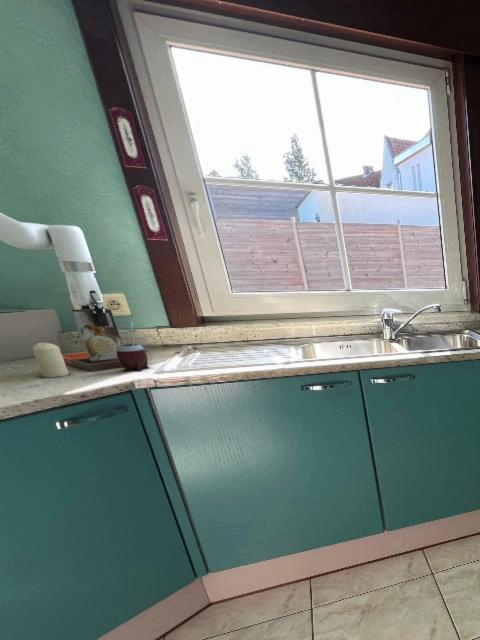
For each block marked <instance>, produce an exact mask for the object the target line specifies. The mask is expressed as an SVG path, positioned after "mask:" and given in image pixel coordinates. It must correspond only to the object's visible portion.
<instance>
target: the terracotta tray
mask: <svg viewBox="0 0 480 640" xmlns="http://www.w3.org/2000/svg"><path fill="white" fill-rule="evenodd" d="M62 357H63V359H64V362H65V365H69V366H75V365H74V363H73V360H77V359H85V358H89V355H88V352H87V351H85V352H84V351H83V352H76V353H75V352H74V353H67V354H62Z"/></svg>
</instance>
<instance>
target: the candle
mask: <svg viewBox="0 0 480 640" xmlns="http://www.w3.org/2000/svg"><path fill="white" fill-rule="evenodd" d="M32 352H33V354H34V356H35V359H36V362H37V364H38V367H39V370H40V372H41V375H42V376H43V377H44V378H58V377H65V376H68V375H69V371H68V367H67V364H66V363H65V362H64V359H63V357H62V355H63V354H62V352H61V348H60V347H59V346H58V345H56V344H53V343H51V342H46V341H44V342H38V343H36V344H35V345H34V346H33V347H32Z"/></svg>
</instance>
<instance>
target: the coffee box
mask: <svg viewBox="0 0 480 640" xmlns="http://www.w3.org/2000/svg"><path fill="white" fill-rule="evenodd" d="M103 309H104V310H105V314H106V317H107V320H108V323H109V326H96V325H95V322H94V319H93V316H92V314H93V312H92V310H91V309H80V308H78V309H71V312H72V314H73V318H74V320H75V323H76V326H77V329H78V330H79V334H80V336H81V339H82V341H83V345H84V347H85V350H86V352H88V355H89V358H90V360H91V361H100V360H110V359H118V357H117V351H116V350H117V347H118V346H119V345H124V342H123V340H122V337H121V334H120V331H119V329H118V325H117V323H116V320H115V316H114V314H113V312H112V309H111V308H109V307H108V308H107V307H106V308H105V307H104V308H103Z"/></svg>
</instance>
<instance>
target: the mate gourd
mask: <svg viewBox="0 0 480 640" xmlns="http://www.w3.org/2000/svg"><path fill="white" fill-rule="evenodd" d="M133 325H134V321H133V320H131V322H130V325H129V332H130V338H131V343H127V344H123V345H119V346H118V347H117V350H116V351H117V357H118V359H119V361H120V363H121V364H122V366H123V367H122V368H124V369H123V371H124V372H128V371H129V372H130V371H137V372H142V370H146V369H150V367H149V366H148V355H147V352H146V350H145V348H144V347H143V345H141V344H139V343H135V339H134V329H133Z"/></svg>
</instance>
